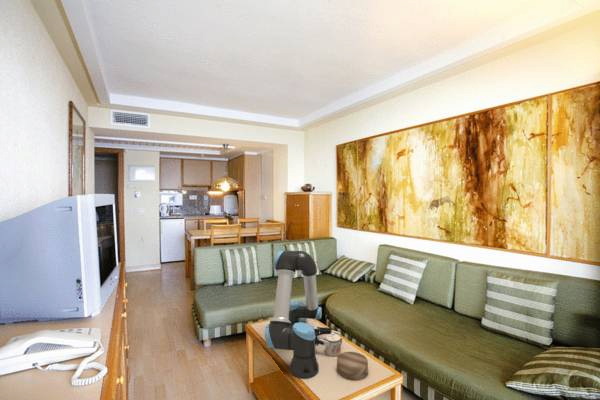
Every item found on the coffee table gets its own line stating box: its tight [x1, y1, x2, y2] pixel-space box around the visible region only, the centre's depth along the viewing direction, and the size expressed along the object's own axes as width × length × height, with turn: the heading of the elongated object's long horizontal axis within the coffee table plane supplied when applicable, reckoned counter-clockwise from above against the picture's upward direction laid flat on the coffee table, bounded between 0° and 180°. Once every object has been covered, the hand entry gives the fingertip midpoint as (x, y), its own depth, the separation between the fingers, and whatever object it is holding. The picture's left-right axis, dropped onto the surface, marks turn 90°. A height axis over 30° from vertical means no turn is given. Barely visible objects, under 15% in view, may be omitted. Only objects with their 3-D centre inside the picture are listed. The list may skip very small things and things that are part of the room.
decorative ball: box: [297, 301, 307, 323], centre depth 211 cm, size 15×15×15 cm
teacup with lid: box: [324, 332, 343, 357], centre depth 171 cm, size 12×9×12 cm
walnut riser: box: [336, 351, 369, 381], centre depth 152 cm, size 16×16×6 cm
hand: (334, 339), depth 171 cm, fingers open, 13 cm apart
